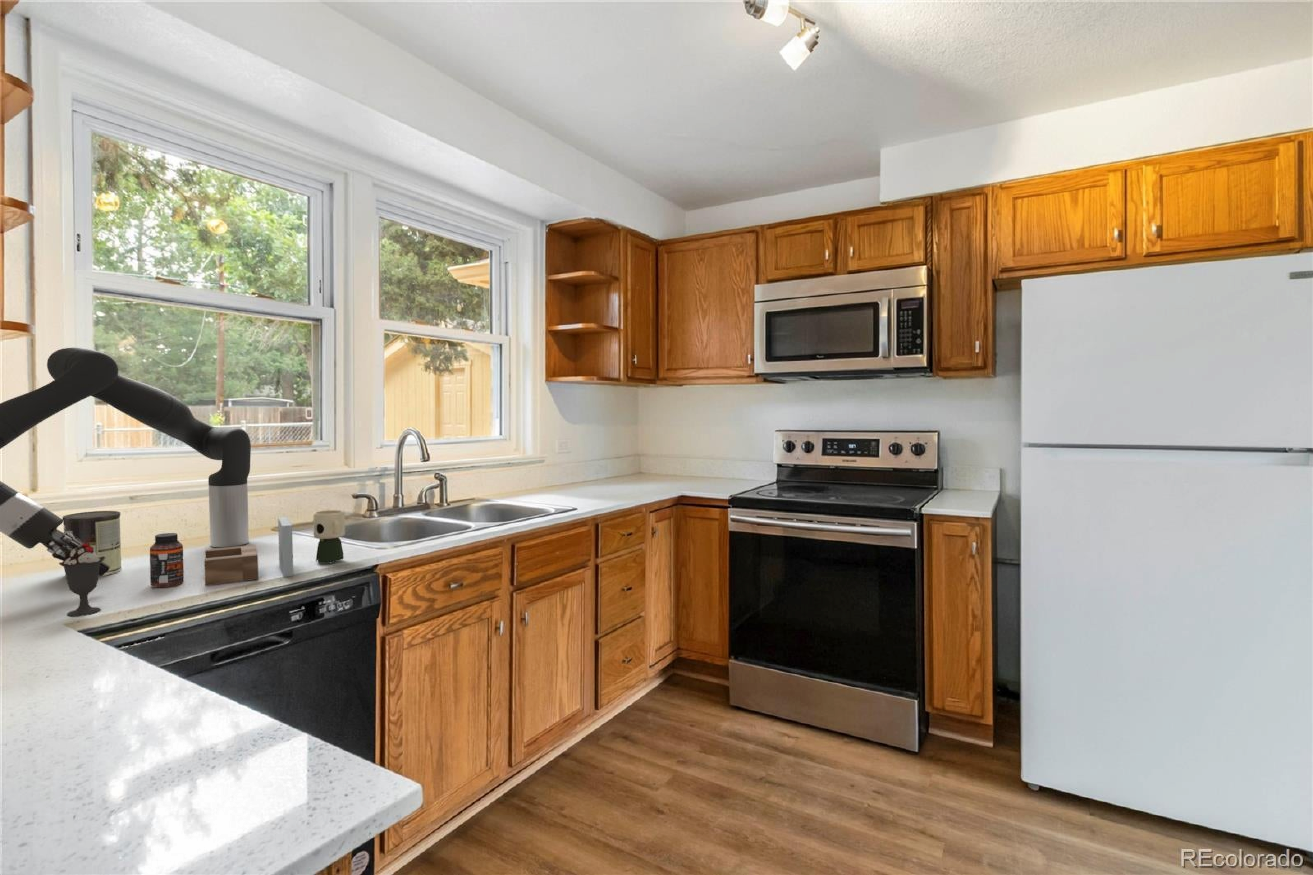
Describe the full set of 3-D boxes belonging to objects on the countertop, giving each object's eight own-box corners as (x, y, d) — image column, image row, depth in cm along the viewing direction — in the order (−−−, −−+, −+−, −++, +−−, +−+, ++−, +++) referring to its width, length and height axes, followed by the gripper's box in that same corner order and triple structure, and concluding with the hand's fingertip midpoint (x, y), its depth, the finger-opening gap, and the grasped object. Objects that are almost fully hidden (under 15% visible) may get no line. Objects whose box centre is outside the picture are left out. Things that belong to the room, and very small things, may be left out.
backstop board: (279, 565, 162) (278, 517, 161) (288, 564, 163) (287, 516, 162) (283, 576, 151) (282, 526, 150) (293, 575, 152) (292, 525, 151)
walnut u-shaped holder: (206, 572, 153) (205, 549, 153) (255, 566, 159) (255, 544, 159) (205, 585, 143) (204, 560, 142) (258, 578, 148) (257, 555, 148)
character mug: (307, 561, 166) (306, 510, 165) (336, 556, 171) (335, 507, 171) (323, 568, 159) (321, 516, 158) (352, 563, 164) (352, 512, 163)
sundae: (109, 612, 125) (106, 535, 124) (62, 620, 120) (59, 540, 119) (104, 604, 130) (101, 530, 129) (59, 612, 125) (56, 535, 124)
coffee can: (67, 581, 146) (65, 519, 145) (62, 573, 153) (60, 514, 152) (126, 573, 153) (123, 514, 153) (118, 565, 160) (116, 509, 160)
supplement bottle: (170, 588, 141) (168, 537, 140) (143, 588, 141) (141, 537, 141) (190, 581, 147) (189, 531, 146) (164, 580, 147) (163, 531, 147)
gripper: (34, 511, 126) (117, 564, 134) (49, 502, 137) (125, 552, 145) (-3, 541, 124) (84, 593, 131) (15, 529, 135) (95, 578, 142)
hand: (105, 571), depth 138 cm, fingers closed
